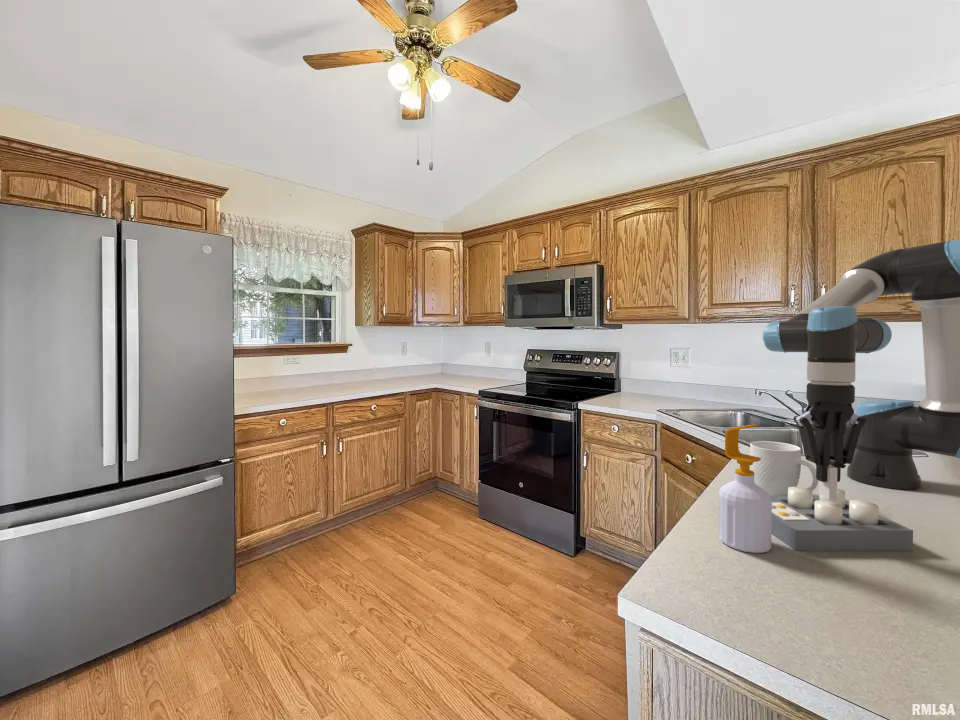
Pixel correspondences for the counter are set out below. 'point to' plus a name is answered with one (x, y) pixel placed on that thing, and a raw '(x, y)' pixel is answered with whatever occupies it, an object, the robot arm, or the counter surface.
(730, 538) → the soap bottle
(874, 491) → the counter surface
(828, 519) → the button
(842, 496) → the button
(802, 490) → the button
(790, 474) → the mug
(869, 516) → the button
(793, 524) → the button board
